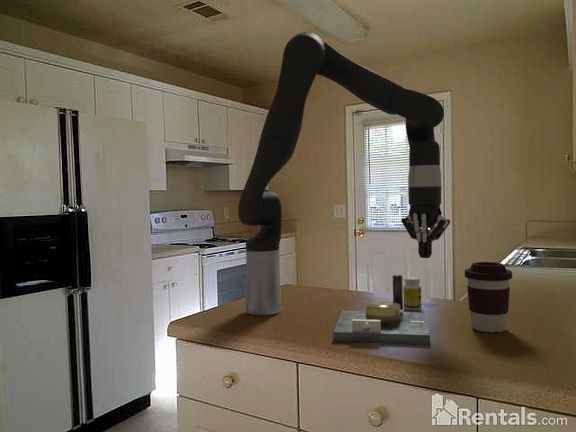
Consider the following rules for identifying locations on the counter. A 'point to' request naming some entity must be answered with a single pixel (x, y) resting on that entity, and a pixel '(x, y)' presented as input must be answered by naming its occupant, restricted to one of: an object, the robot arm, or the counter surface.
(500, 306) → the coffee cup
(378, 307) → the cam capstan
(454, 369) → the counter surface
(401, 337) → the stand
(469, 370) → the counter surface
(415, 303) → the supplement bottle
